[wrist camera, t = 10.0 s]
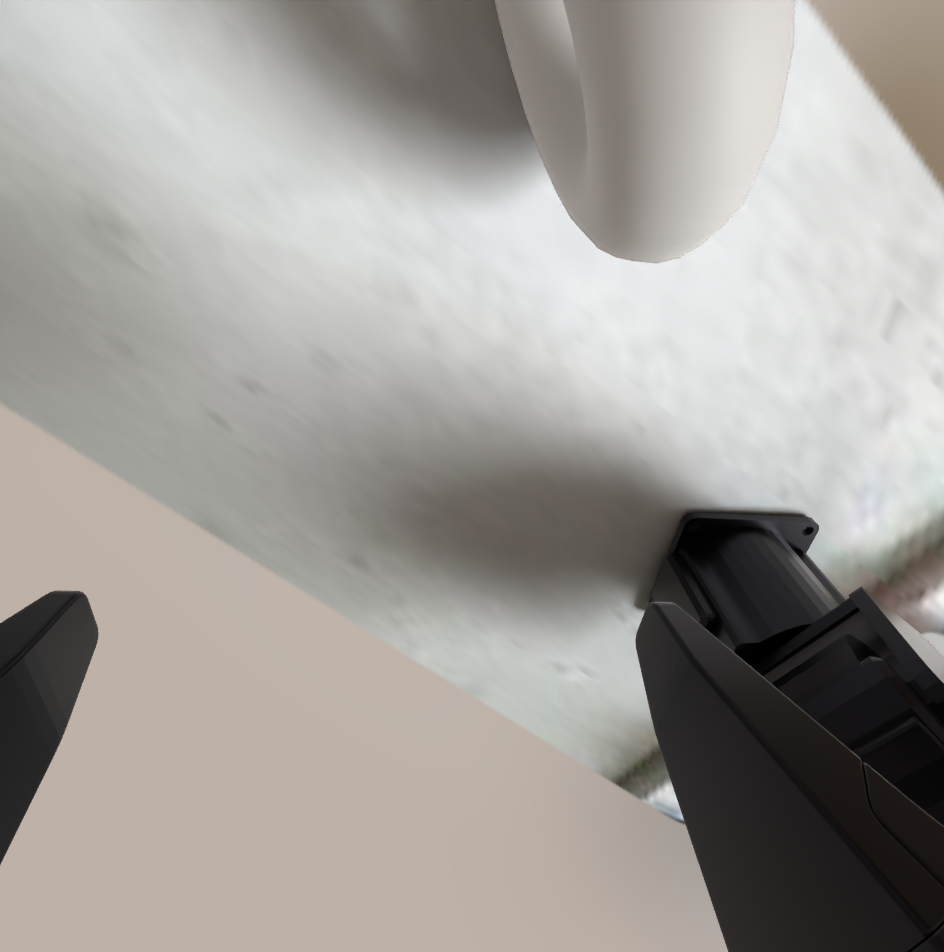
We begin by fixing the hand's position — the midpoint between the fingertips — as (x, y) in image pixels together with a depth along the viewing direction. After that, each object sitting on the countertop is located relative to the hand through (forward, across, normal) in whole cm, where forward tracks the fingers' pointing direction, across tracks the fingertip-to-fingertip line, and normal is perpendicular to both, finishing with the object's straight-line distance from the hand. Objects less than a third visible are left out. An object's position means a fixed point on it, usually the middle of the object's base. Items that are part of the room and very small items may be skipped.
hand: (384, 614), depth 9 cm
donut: (+13, -4, -9) cm, 16 cm away
